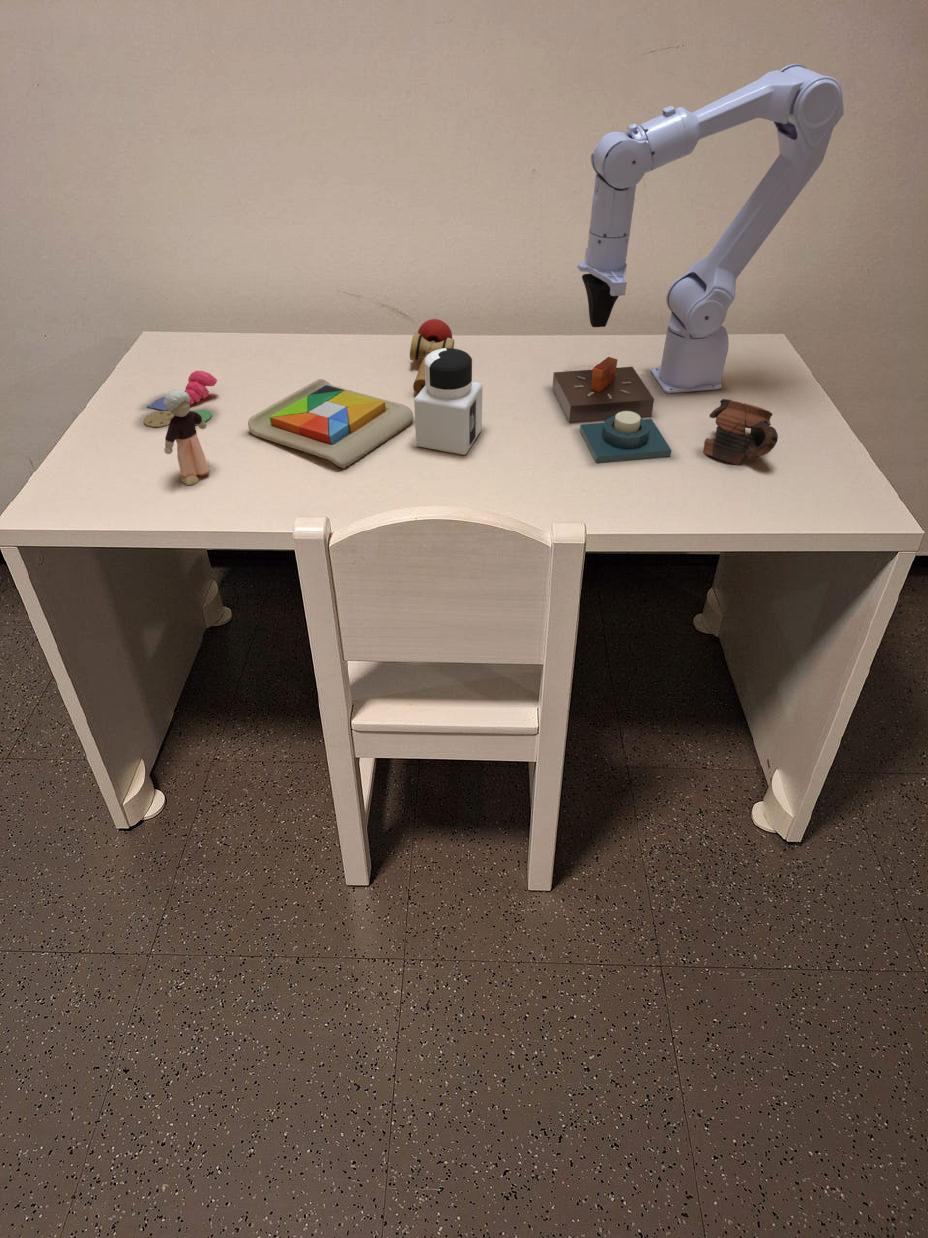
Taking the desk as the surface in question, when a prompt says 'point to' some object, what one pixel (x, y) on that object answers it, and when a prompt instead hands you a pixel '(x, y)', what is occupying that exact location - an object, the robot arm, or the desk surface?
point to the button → (627, 422)
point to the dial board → (601, 395)
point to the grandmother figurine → (185, 437)
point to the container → (448, 403)
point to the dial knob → (603, 374)
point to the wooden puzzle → (331, 422)
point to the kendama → (429, 345)
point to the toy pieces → (195, 392)
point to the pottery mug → (740, 432)
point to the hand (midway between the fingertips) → (597, 325)
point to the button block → (624, 442)
